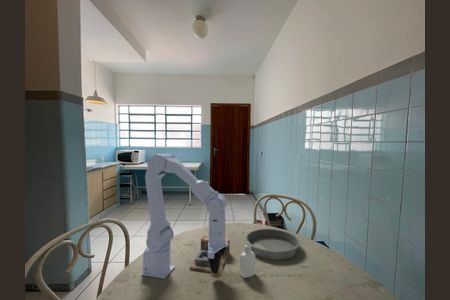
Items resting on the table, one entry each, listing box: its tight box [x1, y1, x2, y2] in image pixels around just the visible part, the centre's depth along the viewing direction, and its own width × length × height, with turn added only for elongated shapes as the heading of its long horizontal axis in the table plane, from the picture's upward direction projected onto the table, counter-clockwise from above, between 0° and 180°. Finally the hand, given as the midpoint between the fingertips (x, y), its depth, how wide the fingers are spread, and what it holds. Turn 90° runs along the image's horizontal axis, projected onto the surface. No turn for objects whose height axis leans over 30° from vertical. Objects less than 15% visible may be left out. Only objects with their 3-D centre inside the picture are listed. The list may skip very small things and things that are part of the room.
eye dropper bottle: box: [239, 241, 256, 279], centre depth 77 cm, size 4×6×12 cm
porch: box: [189, 235, 231, 273], centre depth 87 cm, size 12×16×6 cm
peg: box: [210, 252, 223, 279], centre depth 74 cm, size 4×4×7 cm
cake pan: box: [245, 228, 301, 260], centre depth 99 cm, size 25×25×4 cm
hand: (216, 268), depth 74 cm, fingers closed on peg, 4 cm apart
